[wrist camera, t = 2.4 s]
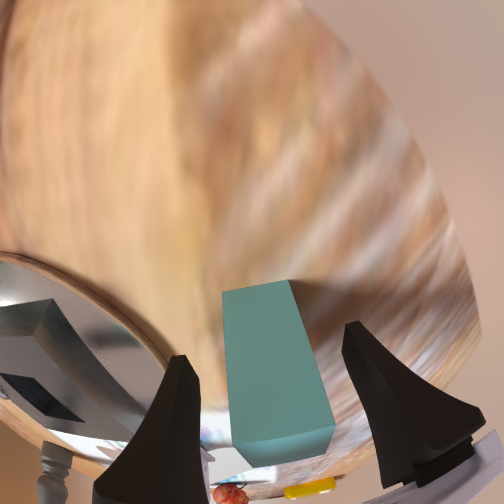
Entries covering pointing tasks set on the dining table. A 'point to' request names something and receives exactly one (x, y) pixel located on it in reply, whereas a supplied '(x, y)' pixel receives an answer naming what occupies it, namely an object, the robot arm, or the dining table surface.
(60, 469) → the candle holder
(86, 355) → the rosette bracket
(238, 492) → the pomegranate
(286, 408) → the teal rectangular prism
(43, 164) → the dining table surface
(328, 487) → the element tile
